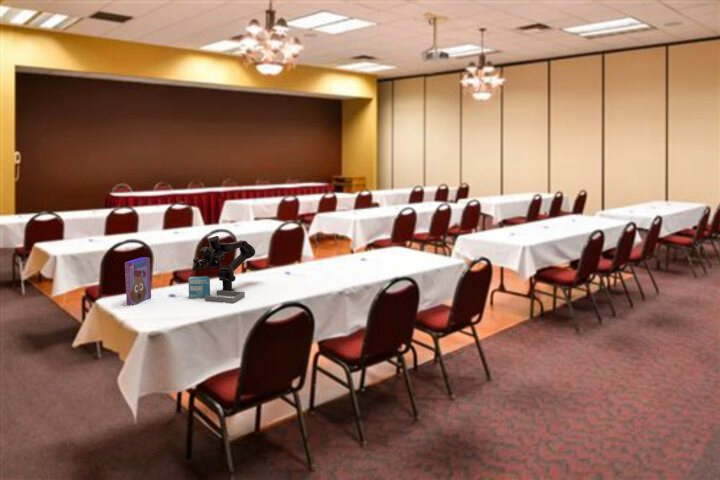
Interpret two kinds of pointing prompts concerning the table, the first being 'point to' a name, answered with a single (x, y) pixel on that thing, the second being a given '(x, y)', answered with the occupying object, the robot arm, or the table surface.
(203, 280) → the data package
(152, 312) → the table surface
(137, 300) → the cereal box
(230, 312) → the table surface
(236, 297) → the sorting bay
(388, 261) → the table surface
